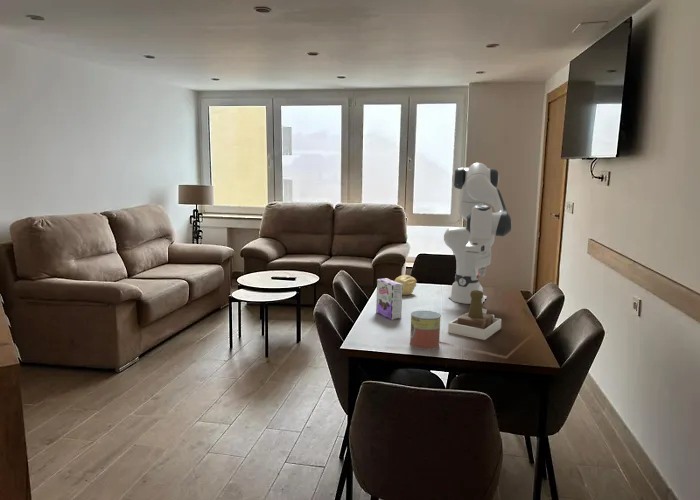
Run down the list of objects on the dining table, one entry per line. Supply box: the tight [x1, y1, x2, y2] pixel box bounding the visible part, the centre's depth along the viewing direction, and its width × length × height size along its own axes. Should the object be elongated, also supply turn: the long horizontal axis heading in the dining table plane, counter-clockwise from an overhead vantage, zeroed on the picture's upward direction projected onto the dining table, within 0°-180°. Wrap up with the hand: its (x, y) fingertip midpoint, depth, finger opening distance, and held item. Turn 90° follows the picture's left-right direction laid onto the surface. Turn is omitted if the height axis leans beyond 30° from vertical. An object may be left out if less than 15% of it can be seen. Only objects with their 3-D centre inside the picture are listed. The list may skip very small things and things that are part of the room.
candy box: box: [375, 277, 403, 321], centre depth 232 cm, size 14×6×16 cm, turn 27°
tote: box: [447, 312, 502, 341], centre depth 210 cm, size 20×16×5 cm
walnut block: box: [457, 311, 494, 329], centre depth 210 cm, size 14×10×6 cm
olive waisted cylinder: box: [468, 290, 484, 318], centre depth 208 cm, size 6×6×11 cm
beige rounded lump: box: [394, 274, 417, 296], centre depth 276 cm, size 12×12×11 cm
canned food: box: [409, 310, 442, 351], centre depth 193 cm, size 11×11×12 cm
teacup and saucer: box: [482, 308, 495, 318], centre depth 234 cm, size 9×8×4 cm
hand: (477, 278), depth 207 cm, fingers open, 8 cm apart
